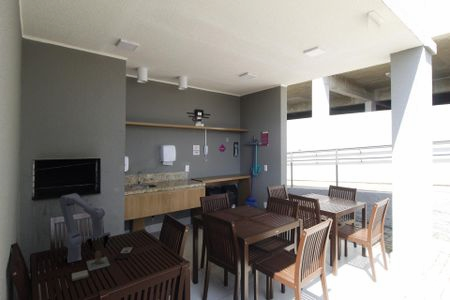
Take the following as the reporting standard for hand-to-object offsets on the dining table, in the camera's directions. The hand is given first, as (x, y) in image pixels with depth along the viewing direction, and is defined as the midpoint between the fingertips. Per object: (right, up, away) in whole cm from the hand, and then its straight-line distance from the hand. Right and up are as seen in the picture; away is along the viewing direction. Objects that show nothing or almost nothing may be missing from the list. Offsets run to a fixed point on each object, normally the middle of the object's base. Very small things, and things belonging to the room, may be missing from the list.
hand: (97, 248), depth 158 cm
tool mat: (0, -10, 0) cm, 10 cm away
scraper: (0, -10, 0) cm, 10 cm away
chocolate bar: (+11, -10, +15) cm, 21 cm away
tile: (-5, -10, -12) cm, 16 cm away
